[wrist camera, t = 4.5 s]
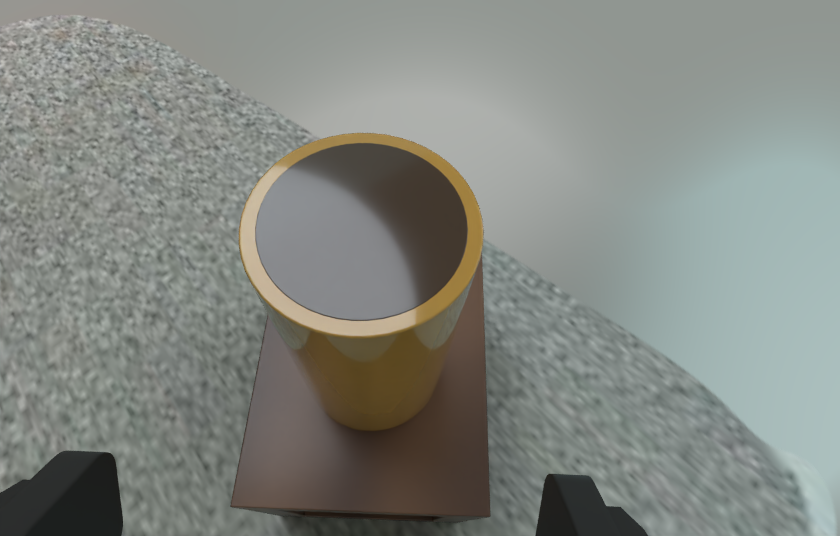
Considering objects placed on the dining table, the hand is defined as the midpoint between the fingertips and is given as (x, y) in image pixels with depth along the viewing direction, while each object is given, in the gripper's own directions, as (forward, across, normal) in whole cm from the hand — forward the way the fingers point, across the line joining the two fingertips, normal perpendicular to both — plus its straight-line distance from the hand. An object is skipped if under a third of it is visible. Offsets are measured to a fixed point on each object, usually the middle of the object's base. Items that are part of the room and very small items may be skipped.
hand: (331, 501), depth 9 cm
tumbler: (+12, 0, +3) cm, 13 cm away
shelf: (+20, 0, +10) cm, 22 cm away
